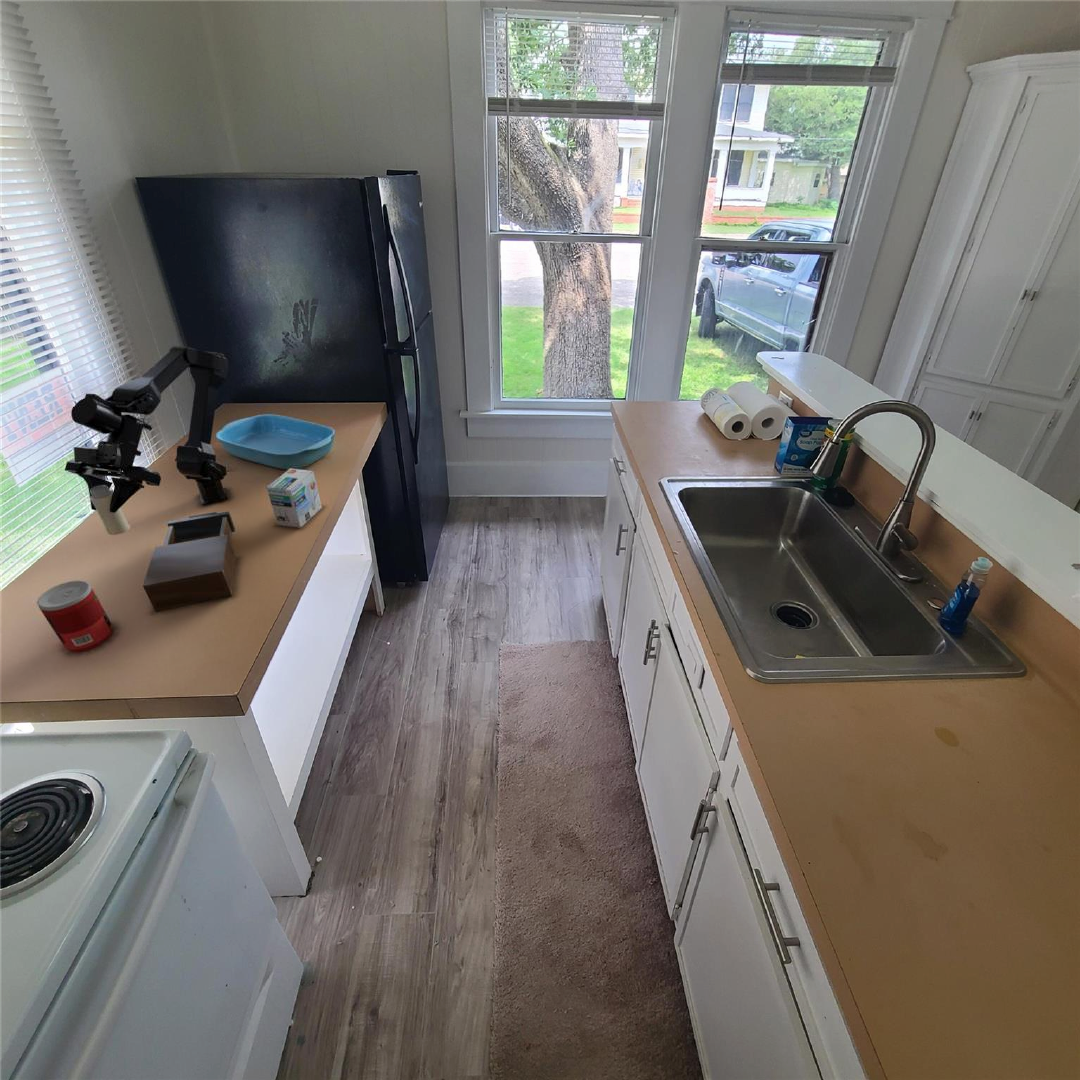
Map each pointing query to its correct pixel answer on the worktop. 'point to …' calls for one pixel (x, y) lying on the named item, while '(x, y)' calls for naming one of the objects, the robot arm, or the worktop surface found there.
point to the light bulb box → (294, 497)
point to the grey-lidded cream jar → (108, 510)
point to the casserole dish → (277, 440)
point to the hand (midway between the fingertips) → (103, 511)
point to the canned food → (76, 615)
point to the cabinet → (190, 573)
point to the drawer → (200, 527)
